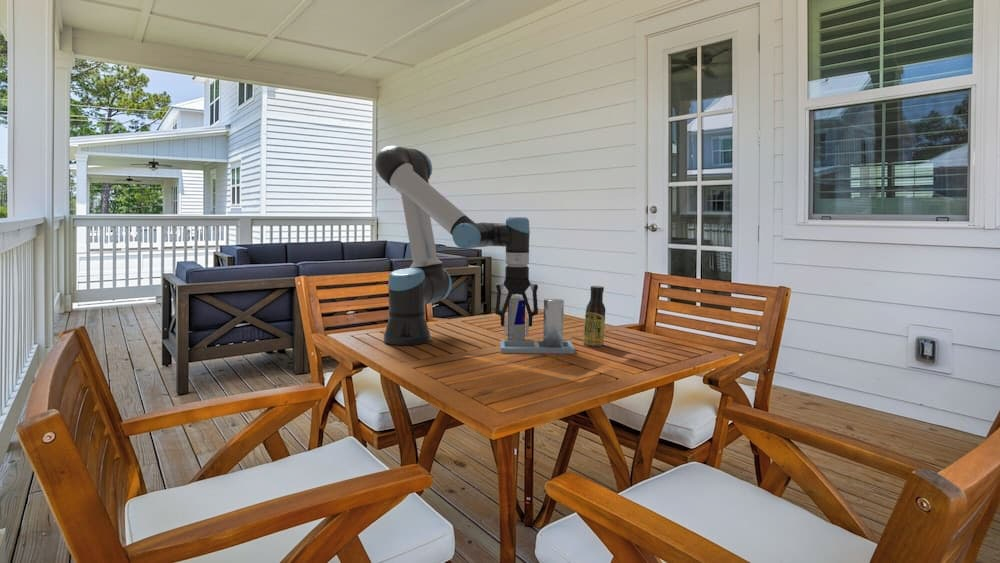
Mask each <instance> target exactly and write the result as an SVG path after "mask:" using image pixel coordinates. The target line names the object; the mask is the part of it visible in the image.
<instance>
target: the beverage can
mask: <svg viewBox="0 0 1000 563" xmlns="http://www.w3.org/2000/svg"><path fill="white" fill-rule="evenodd" d="M525 337H526V306H525V301H524V299H523V296H522V297H521V296H520V297H519V296H511V299H510V301H509V304H508V307H507V340H525V341H526V338H525Z"/></svg>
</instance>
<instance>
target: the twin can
mask: <svg viewBox="0 0 1000 563" xmlns="http://www.w3.org/2000/svg"><path fill="white" fill-rule="evenodd" d="M564 306H565V299H561V298H545V299H543V323H542V324H543V327H542V329H543V333H542V341H543V347H548V348H563V341H564V317H565V316H564V314H565V312H564V311H565V310H564V308H565V307H564Z"/></svg>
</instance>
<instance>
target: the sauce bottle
mask: <svg viewBox="0 0 1000 563" xmlns="http://www.w3.org/2000/svg"><path fill="white" fill-rule="evenodd" d="M604 291H605V288H604V286H602V285H590V299H589V301H588V303H587V305H586V307H585V308H586V309H585V314H584V317H585V318H584V328H583V346H585V347H589V348H601V347H603V346H604V339H605V327H606V326H605V323H606V322H605V321H606V306H605V304H604V301H603V300H604V299H603V297H604Z"/></svg>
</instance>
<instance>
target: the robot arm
mask: <svg viewBox="0 0 1000 563" xmlns="http://www.w3.org/2000/svg"><path fill="white" fill-rule="evenodd" d="M375 157H376V158H375V164H374V165H375V169H376V172H377V174H378V176H379V177H380V178H381V179H382V180H383V181H384V182H385V183H386V184H387V185H388V186H389V187H391V188H392V189H394V190H396V192H397V193H399V194H400V195H401V202H402V206H403V211H404V212H403V213H404V218H405V223H406V230H407V236H408V241H409V247H410V253H411V259H412V263H411V265H410V266H409V267H406V268H400V269H395V270H393V271H392V272H391V273H390V272H389V275H388V283H387V288H388V321H387V323H386V328H385V331H384V333H383V342H384V343H386V344H389V345H395V346H415V345H422V344H425V343H428V342H430V340H431V331H429V327H428V323H427V320H426V317H425V316H426V313H425V311H426V310H425V308H426V307H425V306H426V305H429V304H435V303H439V302H441V301H442V300H444V299H446V298H447V297H448V295H449V294H450V293H451V290H452V288H453V287H452V285H453V284H452V283H453V281H452V277H451V275H450V274H449V272H448V271H447V270H445V269H444V264H443V261H442V260H440V259H439V258H438V254H437V249H436V242H435V238H434V230H433V225H432V219H433V220H434V221H435V222H436V223H437V224H439V225H440V226H441V227H442V228H443V229H444V230H445V231H446V232H447V233H448V234H450V235H451V237H452V240H453V242H454V245H456V247H459V248H461V249H467V250H468V249H474V248H484V247H485V248H486V247H503V248H504V247H505V264H506V266H505V271H504V272H505V276H504V277H505V278H504V281H503V282H501V283H496V285H495V289H496V299H495V310H494V311H495V312H494V313H495V315H496V316H497V315H498V316H499V317H500V326H501V327H503V337H504V338H507V336H508V314H506V312H507V311H508V304H509V301H510V299H511V297H513V295H519V296H522V298H523V299H524V301H525V310H526V311H527V314H528V315H525V337H526V338H529V337H530V334H529V333H530V330H529V327H532V326H533V317H534V316H537V315H538V314H539V308H538V306H539V305H538V295H537V293H538V289H539V285H538V284H537V283H532V282H531V281H530V280H529V278H530V277H529V276H530V267H529V266H528V265H529V264H530V235H531V234H530V233H531V231H530V230H531V229H530V220H529V219H528V218H527V217H519V216H518V217H515V216H508V217H507V218H506V219H505V222H502V223H501V222H499V223H498V222H475V221H474V220H472V219H471V218H470V217H469V216H467V215H466V214H465V213H464V212H463V211H462V210H460V208H458V207H457V206H456V205H455V204H453V203H452V202H451V201H450V200H449V199H447V198H446V197H445V196H444V195H443V194H441V193H440V192H439V191H438V190H437V189H436V188H435V187H433V186H432V185H431V184H430V182H429V180H430V178H431V176H432V174H433V173H432V172H433V165H432V164H433V163H432V161H431V159H430V158H429V156H428V155H427V154H425V153H424V152H423V151H422V150H421V151H420V150H418V149H415V148H407V147H402V146H398V145H389V146H388V145H387V146H386V147H383V148H382V149H380V150H379V152H378V153H377V155H376V156H375ZM504 287H505V288H506V290H507V291H508V292H507V295H506V296H505V300H504V302H503V306H502V309H501V310H500V307H501V298H502V297H501V296H502V291H503V289H504ZM529 287H530V290H531V292H532V294H531V295H532V303H533V304H532V306H533V310H532V309H531V307H530V303H529V299H528V298H527V293H526V291H527V290H528V289H529Z"/></svg>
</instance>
